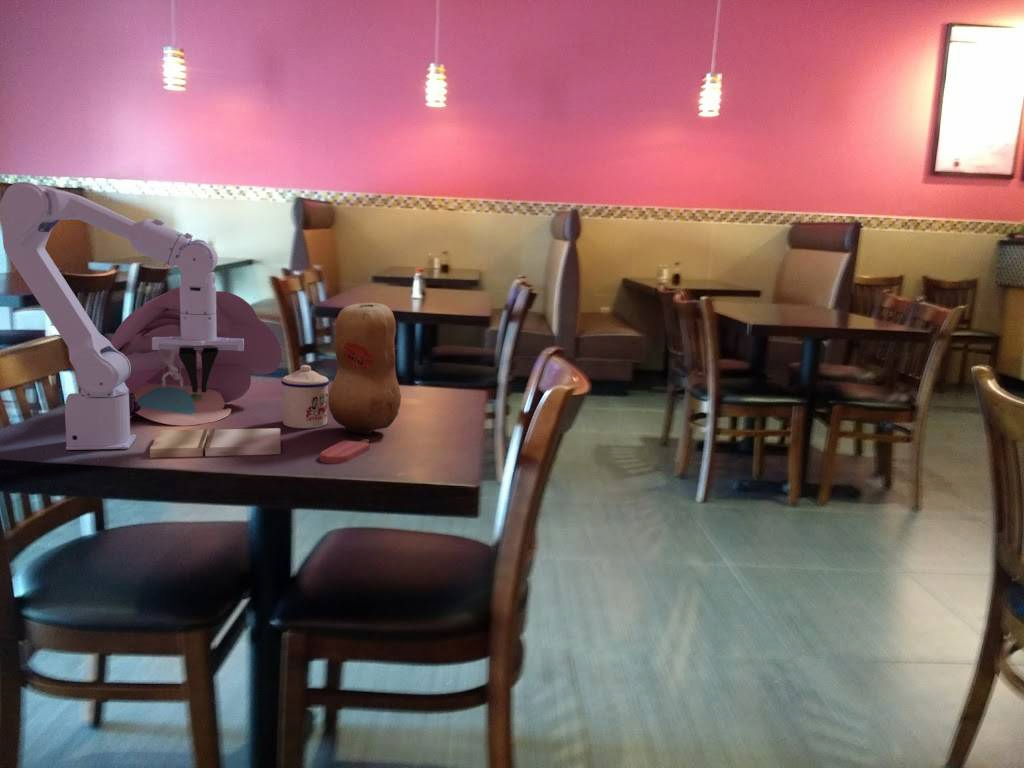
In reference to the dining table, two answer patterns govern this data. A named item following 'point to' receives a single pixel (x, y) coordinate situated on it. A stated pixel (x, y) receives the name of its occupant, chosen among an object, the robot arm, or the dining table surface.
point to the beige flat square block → (243, 442)
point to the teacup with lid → (305, 399)
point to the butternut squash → (365, 369)
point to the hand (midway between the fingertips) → (199, 391)
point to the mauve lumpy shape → (163, 376)
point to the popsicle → (344, 451)
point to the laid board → (179, 443)
